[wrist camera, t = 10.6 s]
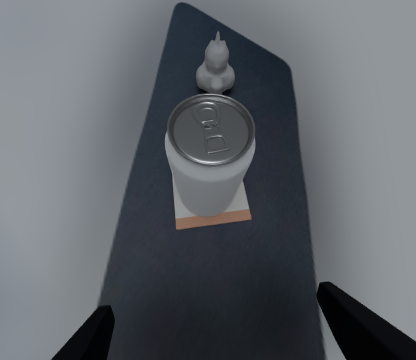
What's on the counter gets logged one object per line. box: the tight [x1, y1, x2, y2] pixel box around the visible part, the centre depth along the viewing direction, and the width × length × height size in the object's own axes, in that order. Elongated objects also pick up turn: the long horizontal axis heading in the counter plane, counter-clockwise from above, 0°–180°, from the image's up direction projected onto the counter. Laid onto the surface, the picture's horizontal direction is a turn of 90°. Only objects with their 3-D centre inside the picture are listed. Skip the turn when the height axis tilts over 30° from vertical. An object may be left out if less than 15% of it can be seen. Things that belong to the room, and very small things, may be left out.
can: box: [165, 93, 255, 217], centre depth 18 cm, size 6×6×12 cm
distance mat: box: [172, 174, 251, 230], centre depth 25 cm, size 14×8×1 cm, turn 8°
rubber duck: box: [196, 31, 235, 95], centre depth 26 cm, size 5×7×8 cm
